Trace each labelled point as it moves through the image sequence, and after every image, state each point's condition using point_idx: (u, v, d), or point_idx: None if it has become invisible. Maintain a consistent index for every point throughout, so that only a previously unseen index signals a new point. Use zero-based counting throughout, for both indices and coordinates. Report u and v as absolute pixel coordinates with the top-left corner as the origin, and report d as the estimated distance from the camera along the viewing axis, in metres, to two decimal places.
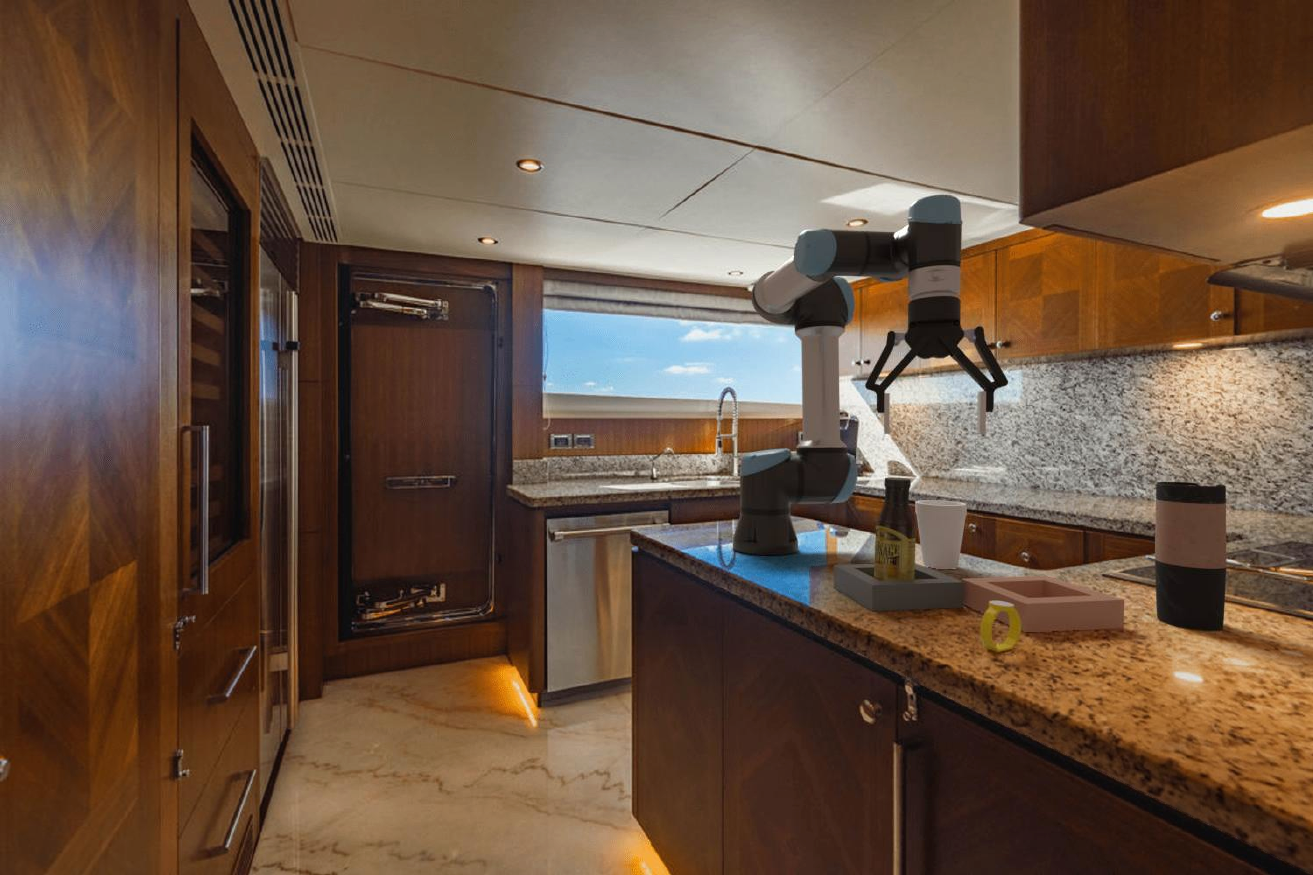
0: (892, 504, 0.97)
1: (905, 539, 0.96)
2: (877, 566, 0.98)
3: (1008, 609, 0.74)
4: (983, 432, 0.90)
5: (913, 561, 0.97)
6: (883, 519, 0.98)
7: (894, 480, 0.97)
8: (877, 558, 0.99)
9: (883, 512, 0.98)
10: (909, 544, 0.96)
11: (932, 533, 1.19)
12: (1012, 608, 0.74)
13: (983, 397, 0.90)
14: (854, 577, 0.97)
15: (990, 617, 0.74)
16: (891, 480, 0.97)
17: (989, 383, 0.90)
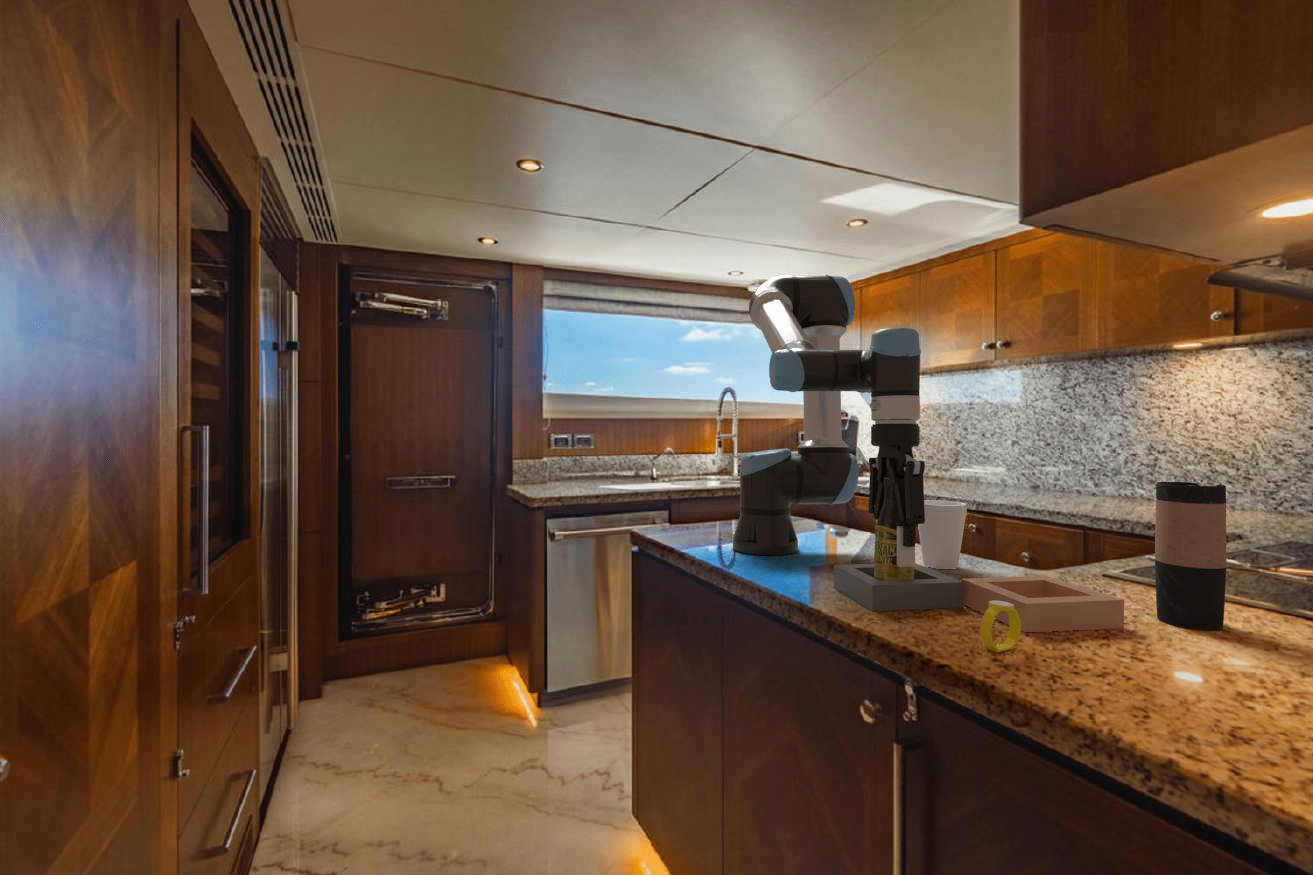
0: (891, 504, 0.97)
1: None
2: (877, 566, 0.98)
3: (1007, 609, 0.74)
4: (898, 564, 0.95)
5: None
6: (882, 519, 0.98)
7: None
8: (876, 557, 0.99)
9: (882, 512, 0.98)
10: None
11: (932, 533, 1.19)
12: (1012, 608, 0.74)
13: (898, 531, 0.95)
14: (854, 577, 0.97)
15: (990, 617, 0.74)
16: None
17: (902, 519, 0.94)
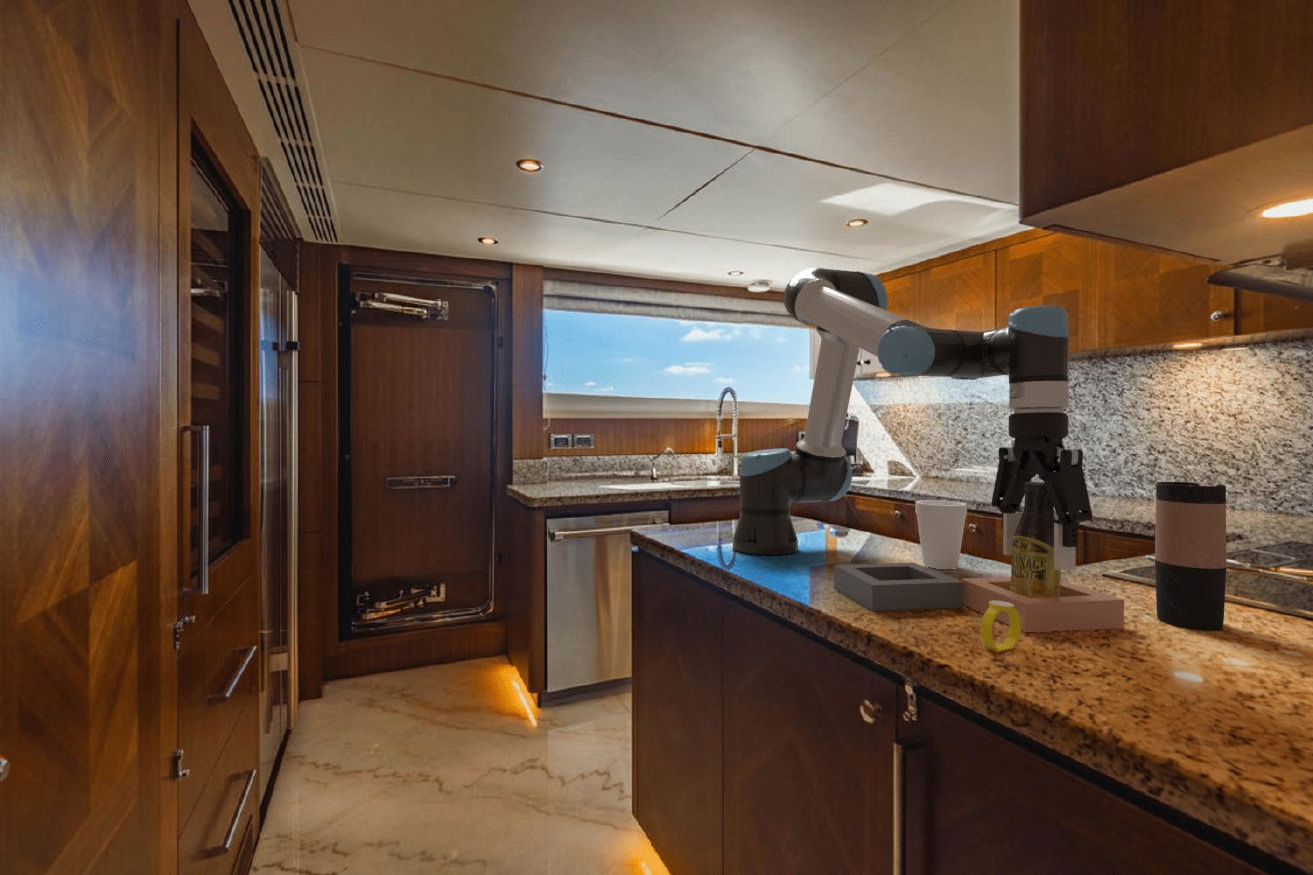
0: (1036, 512, 0.87)
1: (1052, 551, 0.86)
2: (1017, 581, 0.89)
3: (1008, 609, 0.74)
4: (1056, 567, 0.84)
5: (1060, 575, 0.87)
6: (1025, 529, 0.88)
7: (1039, 485, 0.87)
8: (1016, 571, 0.89)
9: (1024, 521, 0.88)
10: None
11: (932, 533, 1.19)
12: (1012, 608, 0.74)
13: (1056, 529, 0.84)
14: (854, 577, 0.97)
15: (990, 617, 0.74)
16: (1035, 485, 0.87)
17: (1062, 515, 0.83)
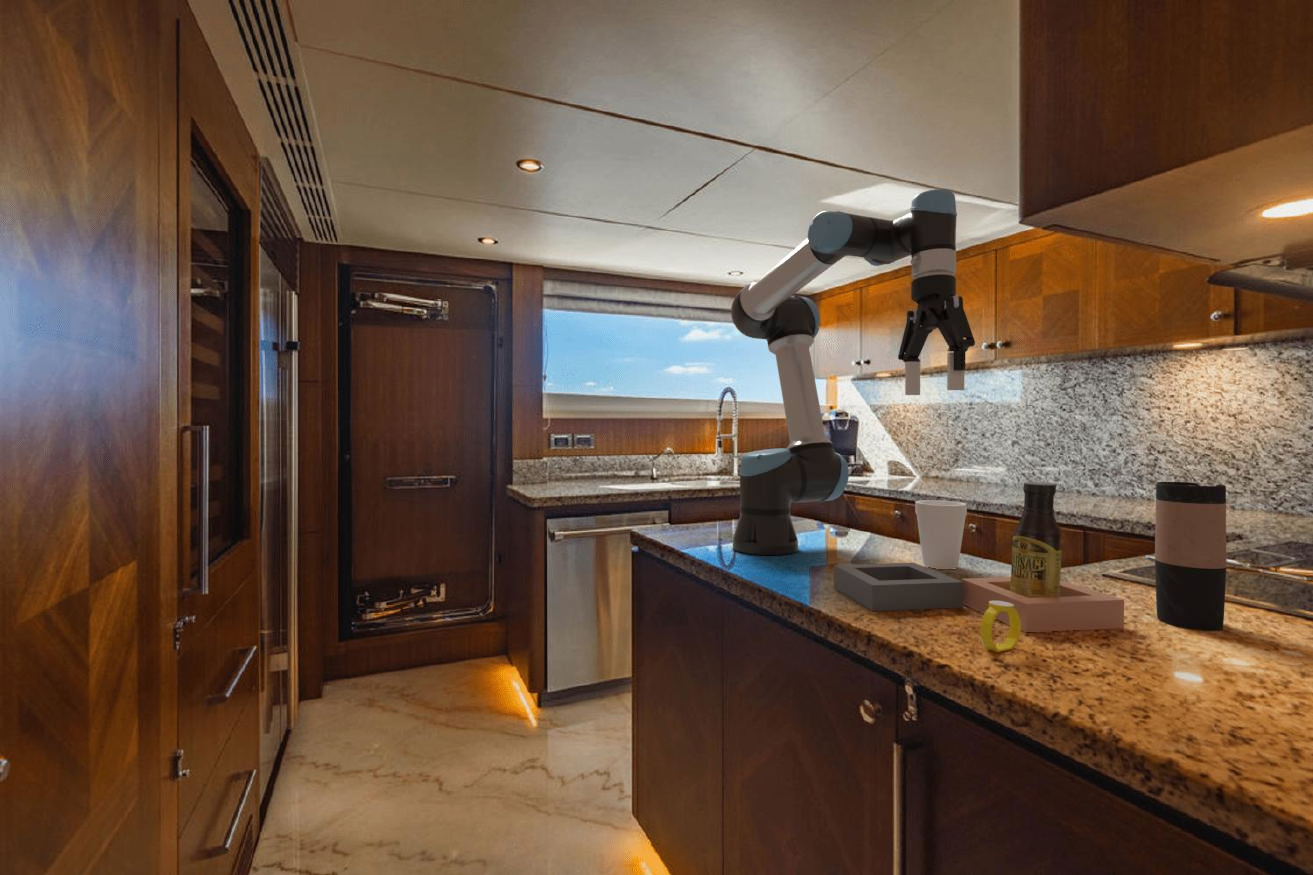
0: (1036, 512, 0.87)
1: (1052, 551, 0.86)
2: (1017, 581, 0.89)
3: (1007, 609, 0.74)
4: (948, 388, 1.03)
5: (1059, 575, 0.87)
6: (1025, 529, 0.88)
7: (1038, 485, 0.87)
8: (1016, 571, 0.89)
9: (1024, 521, 0.88)
10: (1057, 557, 0.86)
11: (932, 533, 1.19)
12: (1012, 608, 0.74)
13: (948, 357, 1.03)
14: (854, 577, 0.97)
15: (990, 617, 0.74)
16: (1035, 485, 0.87)
17: (952, 345, 1.02)
